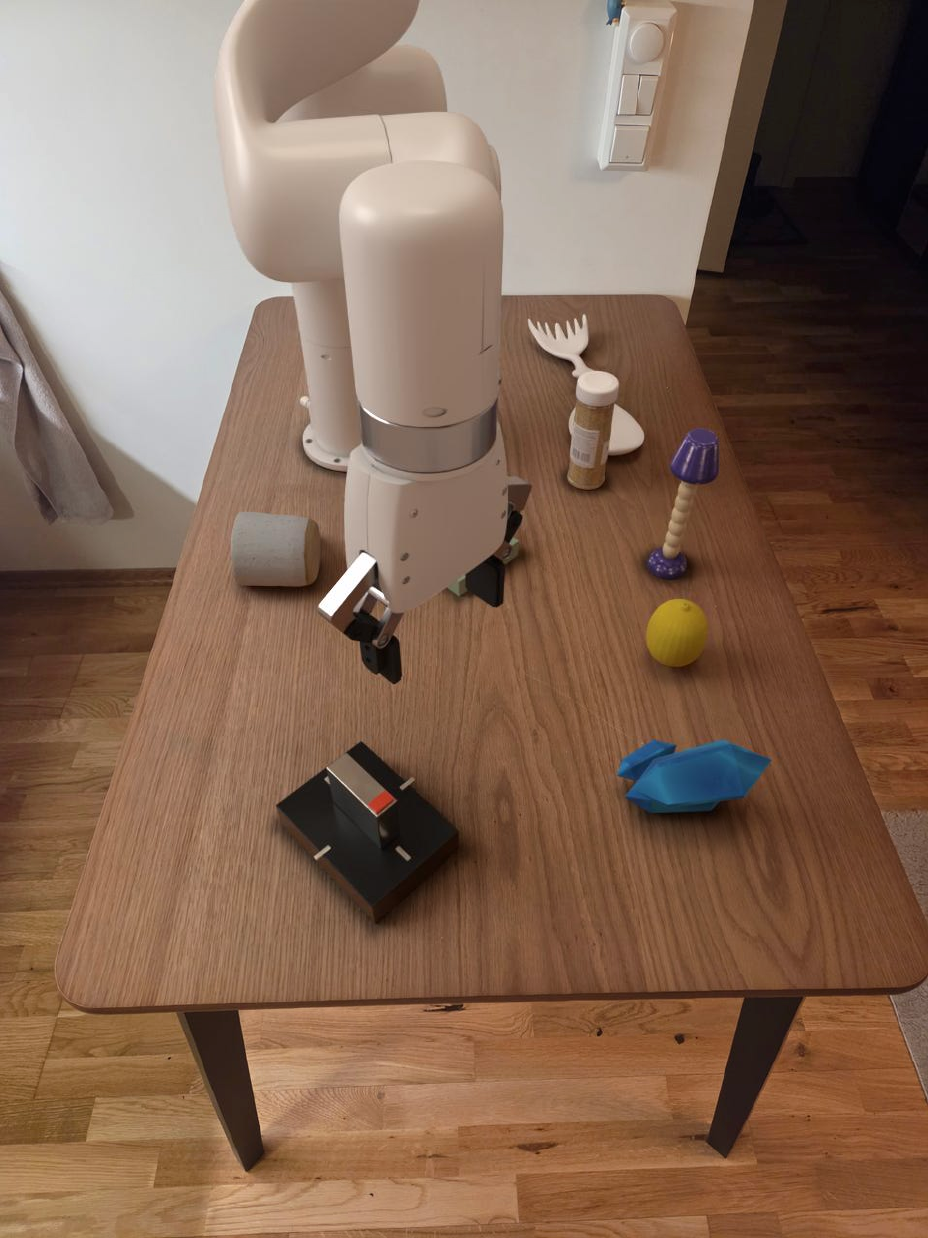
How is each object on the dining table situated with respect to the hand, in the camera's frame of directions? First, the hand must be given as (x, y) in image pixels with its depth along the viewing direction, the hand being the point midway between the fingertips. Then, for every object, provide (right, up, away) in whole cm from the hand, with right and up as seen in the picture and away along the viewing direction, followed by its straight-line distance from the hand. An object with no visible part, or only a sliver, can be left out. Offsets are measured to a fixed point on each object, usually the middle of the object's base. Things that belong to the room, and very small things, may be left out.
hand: (435, 632), depth 59 cm
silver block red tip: (-6, -15, +9) cm, 18 cm away
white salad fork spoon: (+18, +31, +56) cm, 67 cm away
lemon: (+22, -3, +25) cm, 33 cm away
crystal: (+20, -15, +14) cm, 29 cm away
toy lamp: (+24, +6, +34) cm, 42 cm away
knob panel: (-6, -17, +11) cm, 21 cm away
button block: (+1, +8, +35) cm, 36 cm away
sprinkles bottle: (+16, +17, +44) cm, 50 cm away
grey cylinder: (-18, +6, +33) cm, 38 cm away
